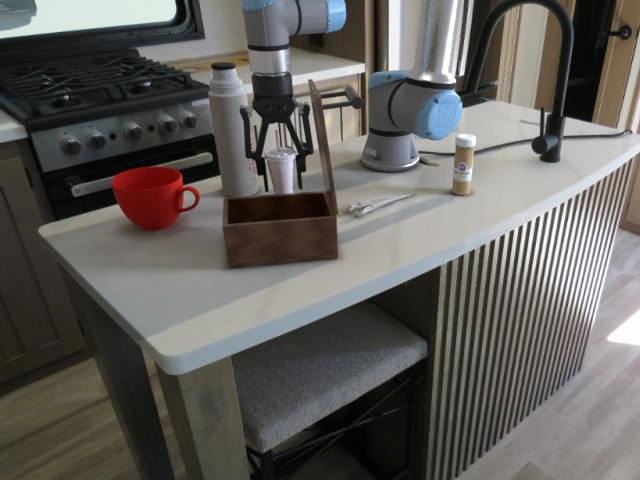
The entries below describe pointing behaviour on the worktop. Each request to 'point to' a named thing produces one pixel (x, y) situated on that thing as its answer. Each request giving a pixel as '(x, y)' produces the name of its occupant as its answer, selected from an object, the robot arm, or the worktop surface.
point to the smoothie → (281, 167)
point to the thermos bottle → (231, 131)
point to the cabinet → (279, 229)
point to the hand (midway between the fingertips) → (283, 187)
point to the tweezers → (373, 204)
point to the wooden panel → (321, 132)
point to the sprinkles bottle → (463, 163)
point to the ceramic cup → (152, 196)
